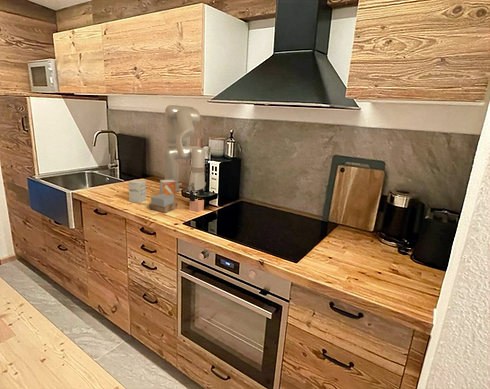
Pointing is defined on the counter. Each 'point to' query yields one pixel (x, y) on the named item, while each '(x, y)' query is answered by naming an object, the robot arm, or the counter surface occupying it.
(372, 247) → the counter surface
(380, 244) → the counter surface
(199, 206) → the terracotta block
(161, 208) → the tower bottom
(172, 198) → the tower top
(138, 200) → the supplement box
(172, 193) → the small box
